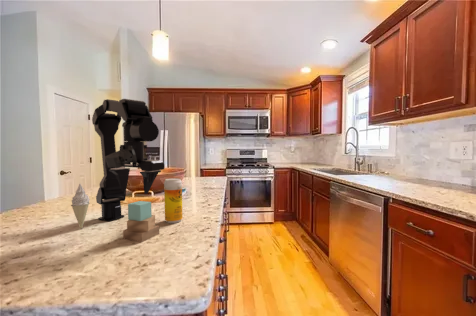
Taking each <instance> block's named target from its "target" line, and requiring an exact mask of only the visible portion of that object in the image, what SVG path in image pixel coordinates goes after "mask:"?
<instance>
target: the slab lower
mask: <svg viewBox="0 0 476 316" xmlns="http://www.w3.org/2000/svg"><path fill="white" fill-rule="evenodd" d="M158 235H160V225H156V224H155V225H154V226H153V227H152V228H151V229H150V230H149V231H136V232H127V228H126V229H123V230H122V236H123V238H122V239H123V240H126V241H133V242H139V243H144V242H145V241H148V240H150V239H152V238H154V237H156V236H158Z"/></svg>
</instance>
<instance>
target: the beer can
mask: <svg viewBox="0 0 476 316" xmlns="http://www.w3.org/2000/svg"><path fill="white" fill-rule="evenodd" d="M163 187H164V189H163V190H164V191H163V192H164V198H163V199H164V221H166V223H168V224H177V223H180V222H181V221H182V220H183V181H182V180H181V178H177V177H176V178H174V177H173V178H165V180H164V182H163Z"/></svg>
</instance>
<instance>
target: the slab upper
mask: <svg viewBox="0 0 476 316" xmlns="http://www.w3.org/2000/svg"><path fill="white" fill-rule="evenodd" d="M154 225H156V214H152V217H150V218H147V219H145V220H142V221H136V220H128V219H127V220H126V229H127V232H136V231H149V230H150V229H151V228H152V227H153V226H154Z"/></svg>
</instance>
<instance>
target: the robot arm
mask: <svg viewBox="0 0 476 316" xmlns="http://www.w3.org/2000/svg"><path fill="white" fill-rule="evenodd" d="M107 112H114V113H107ZM115 113H116V114H115ZM153 118H154V117H153V116H152V114H151V111H150V110H149V107H148V106H147V103H146V102H145V101H143V100H137V99H128V98H122V99H118V100H115V99H103V102H102V104H101V105H99V106H98V107H97V108H95V109H94V112H93V114H92V118H91V122H92V125H93V127H94V131H95V132H96V134H97V135H98V137H100V148H101V157H102V159H101V160H102V168H103V176H102V178H101V180H100V181H99V188H98V190H97V192H96V193H97V194H96V196H95V199H96V203H97V204H98V205H101V206H100V207H101V216H100V217H97V219H98V220H99V221H106V222H111V221H115V220H118V219H121V218H124V217H125V215H124V214H122V203H121V202H125V201H126V193H127V188H128V183H129V176H130V172H131V171H130V170H131V168H137V169H140V170H141V171H139V173H140V174H141V176H142V178H143V179H142V182H143V192H144V193H143V194H144V195H147V194H149V192H150V190H151V188H152V186H153V184H154V182H155V180H156V178H157V176H158V175H159V173H161V172H162V171H163V170H165V162H164V161H163V159H150V160H148V158H147V157H145V149H148V144H145V142H146V143H147V142H149V143H150V142H154V141H155V140H156V139H157V138H158V137H159V135H160V134H159V133H160V130H159V128H158V126H157V124H156V123H155V122H153V120H154V119H153ZM122 120H123V121H124V122H123V123H122V128H123V131H122V132H123V144H120V146H119V150H116V149H117V148H116V138H115V136H116V133H117V131H118V130H119V126H120V124H121V121H122Z"/></svg>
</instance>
